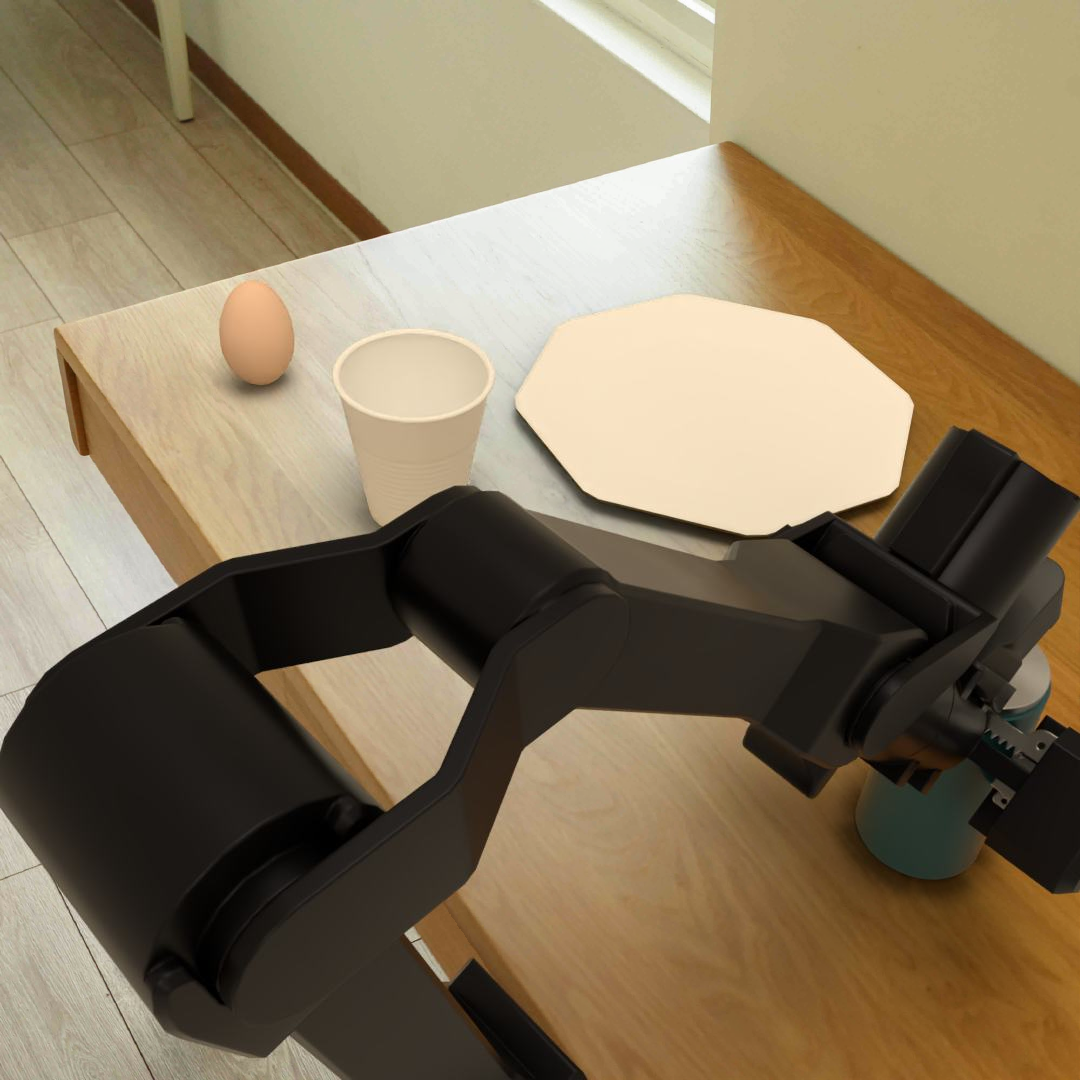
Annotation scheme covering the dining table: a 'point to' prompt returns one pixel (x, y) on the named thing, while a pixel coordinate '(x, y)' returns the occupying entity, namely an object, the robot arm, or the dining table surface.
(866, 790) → the can
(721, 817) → the dining table surface
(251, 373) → the egg
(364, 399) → the cup
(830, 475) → the plate
